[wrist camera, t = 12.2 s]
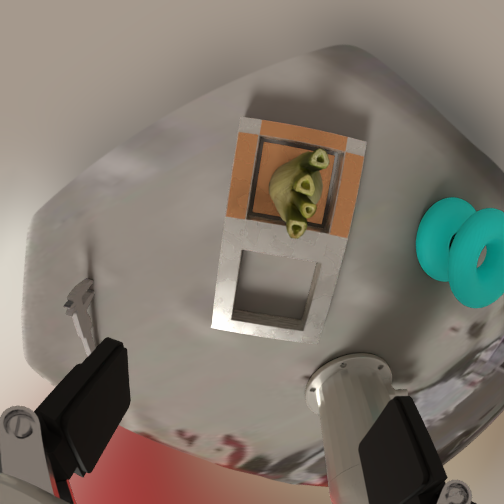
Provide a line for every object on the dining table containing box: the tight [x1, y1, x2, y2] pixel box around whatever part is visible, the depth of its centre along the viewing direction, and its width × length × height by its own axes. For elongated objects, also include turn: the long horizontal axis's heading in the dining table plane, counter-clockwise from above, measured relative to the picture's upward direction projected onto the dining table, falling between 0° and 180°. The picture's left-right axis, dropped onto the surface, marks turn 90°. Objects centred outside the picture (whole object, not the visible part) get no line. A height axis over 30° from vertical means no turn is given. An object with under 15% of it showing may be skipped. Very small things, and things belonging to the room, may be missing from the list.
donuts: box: [416, 197, 504, 308], centre depth 24 cm, size 10×10×10 cm
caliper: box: [63, 278, 96, 356], centre depth 33 cm, size 20×1×6 cm, turn 171°
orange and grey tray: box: [212, 117, 367, 344], centre depth 28 cm, size 12×22×3 cm, turn 171°
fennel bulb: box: [269, 148, 330, 239], centre depth 22 cm, size 6×5×12 cm
